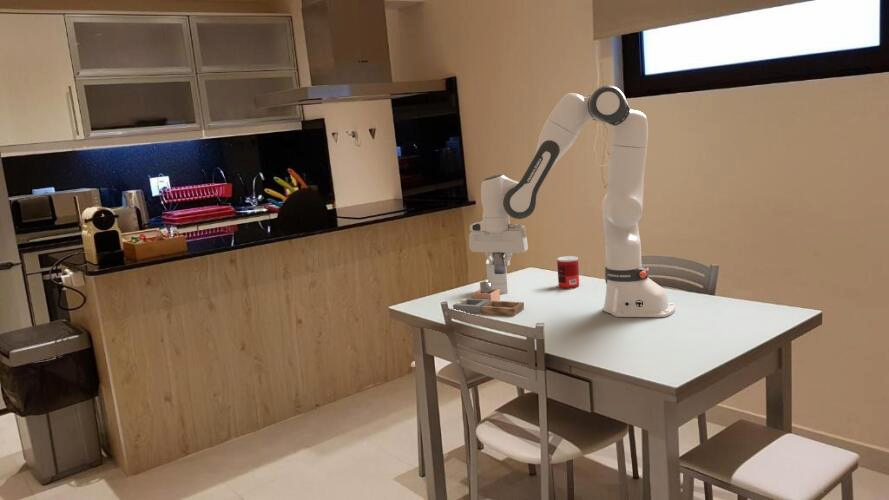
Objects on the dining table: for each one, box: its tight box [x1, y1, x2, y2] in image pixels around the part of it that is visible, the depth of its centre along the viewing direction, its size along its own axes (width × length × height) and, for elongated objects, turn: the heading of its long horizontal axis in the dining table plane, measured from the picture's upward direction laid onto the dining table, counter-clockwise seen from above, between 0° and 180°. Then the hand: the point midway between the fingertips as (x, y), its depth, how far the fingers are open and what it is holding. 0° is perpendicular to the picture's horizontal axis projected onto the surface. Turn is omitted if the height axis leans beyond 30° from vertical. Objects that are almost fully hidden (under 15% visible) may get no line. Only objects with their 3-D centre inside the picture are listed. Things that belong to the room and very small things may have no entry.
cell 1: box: [479, 280, 492, 294], centre depth 244 cm, size 4×4×8 cm
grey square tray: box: [452, 297, 490, 315], centre depth 238 cm, size 10×9×3 cm
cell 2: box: [492, 252, 507, 274], centre depth 228 cm, size 4×4×8 cm
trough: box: [481, 300, 525, 317], centre depth 231 cm, size 12×8×3 cm, turn 60°
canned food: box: [556, 255, 580, 290], centre depth 258 cm, size 8×8×11 cm
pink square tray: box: [472, 288, 501, 301], centre depth 245 cm, size 7×7×4 cm
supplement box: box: [485, 259, 509, 295], centre depth 257 cm, size 7×7×13 cm
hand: (499, 265), depth 228 cm, fingers closed on cell 2, 4 cm apart
